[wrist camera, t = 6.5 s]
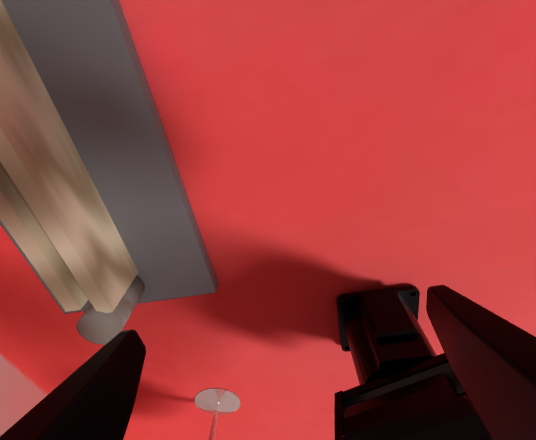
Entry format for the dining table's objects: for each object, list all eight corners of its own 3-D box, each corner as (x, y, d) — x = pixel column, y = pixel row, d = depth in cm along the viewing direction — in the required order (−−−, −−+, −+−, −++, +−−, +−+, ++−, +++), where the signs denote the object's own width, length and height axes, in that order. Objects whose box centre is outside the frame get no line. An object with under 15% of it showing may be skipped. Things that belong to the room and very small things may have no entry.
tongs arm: (112, 269, 21) (80, 309, 18) (99, 271, 21) (65, 311, 18) (-51, -25, 13) (-167, -57, 10) (-70, -20, 13) (-191, -49, 10)
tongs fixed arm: (150, 294, 23) (125, 342, 19) (119, 299, 23) (88, 346, 19) (-15, -32, 13) (-131, -71, 10) (-64, -18, 14) (-196, -51, 10)
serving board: (218, 284, 24) (216, 292, 23) (71, 304, 25) (64, 313, 24) (90, -81, 13) (77, -91, 12) (-147, -13, 15) (-174, -18, 14)
